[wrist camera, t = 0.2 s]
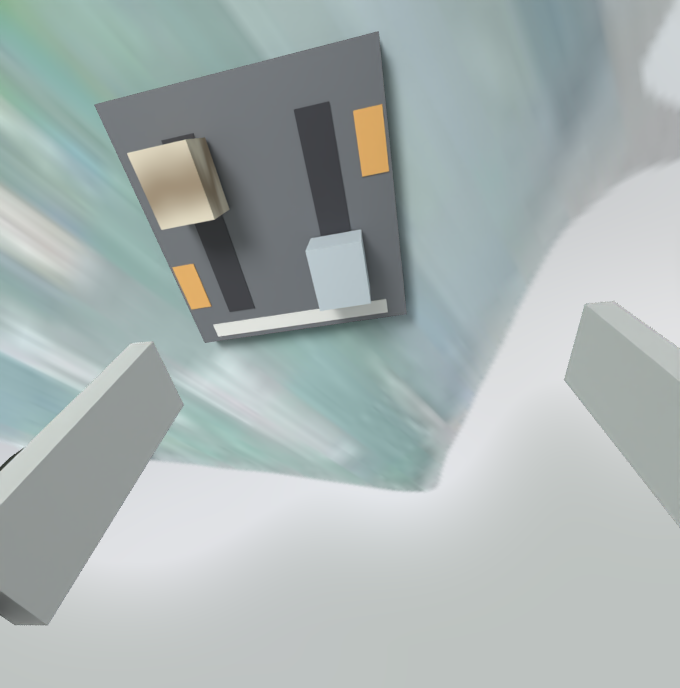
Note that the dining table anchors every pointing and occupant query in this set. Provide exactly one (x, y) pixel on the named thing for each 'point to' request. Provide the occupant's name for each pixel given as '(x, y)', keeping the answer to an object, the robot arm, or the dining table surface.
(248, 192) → the switch board
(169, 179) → the birch tab
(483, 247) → the dining table surface
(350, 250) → the pale blue cube
